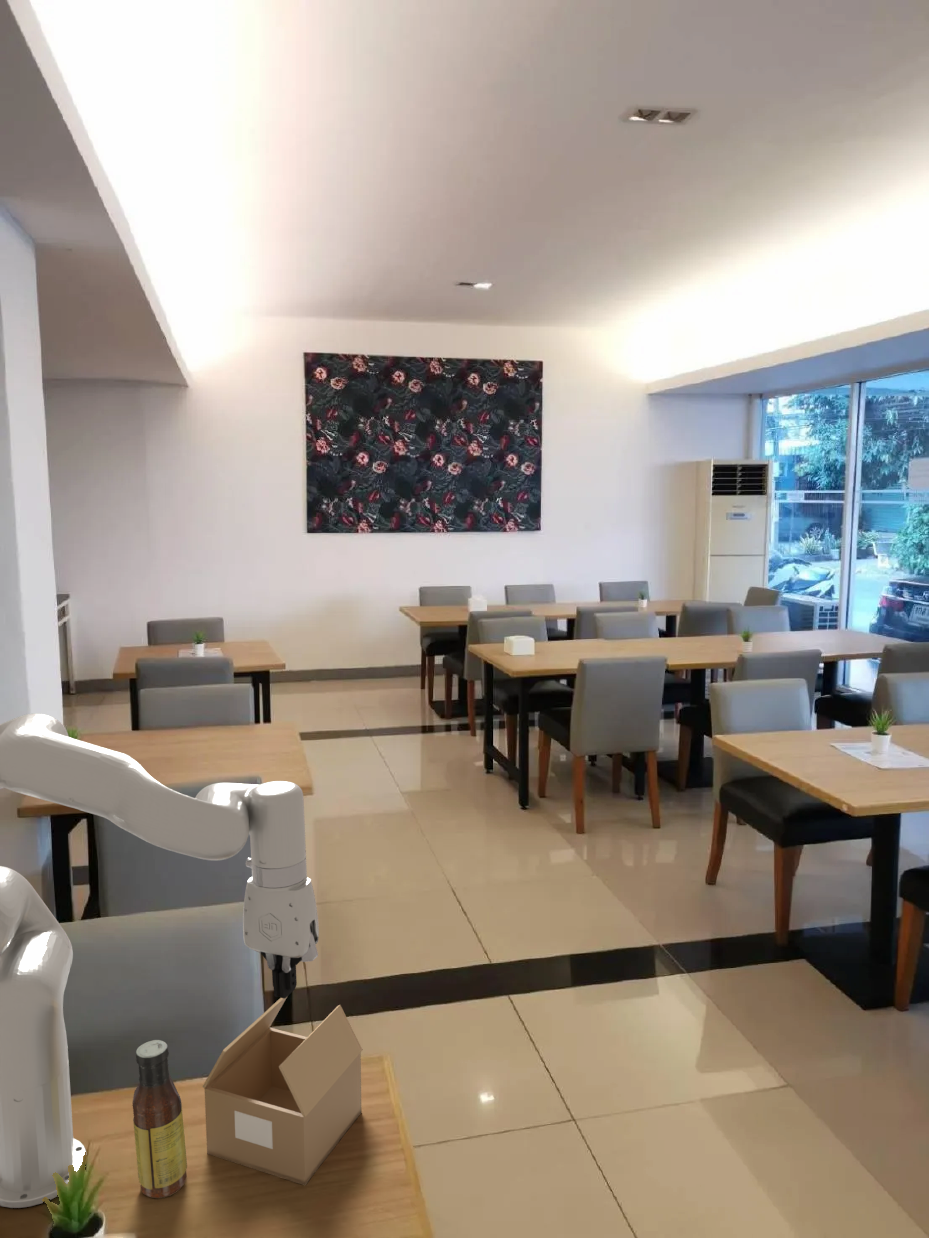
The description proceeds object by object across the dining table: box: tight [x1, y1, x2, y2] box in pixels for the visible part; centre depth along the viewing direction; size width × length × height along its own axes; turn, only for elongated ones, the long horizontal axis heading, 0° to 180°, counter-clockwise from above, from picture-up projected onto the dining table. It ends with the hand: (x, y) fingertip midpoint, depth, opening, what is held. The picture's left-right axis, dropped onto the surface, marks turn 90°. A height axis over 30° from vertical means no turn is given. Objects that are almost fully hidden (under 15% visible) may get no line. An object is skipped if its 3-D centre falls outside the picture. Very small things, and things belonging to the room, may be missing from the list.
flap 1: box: [202, 996, 288, 1090], centre depth 135 cm, size 7×16×1 cm
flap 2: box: [279, 1004, 363, 1118], centre depth 131 cm, size 7×16×1 cm
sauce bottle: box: [131, 1039, 188, 1199], centre depth 124 cm, size 7×6×20 cm
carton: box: [204, 1026, 363, 1186], centre depth 134 cm, size 16×16×10 cm
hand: (285, 992), depth 132 cm, fingers closed
